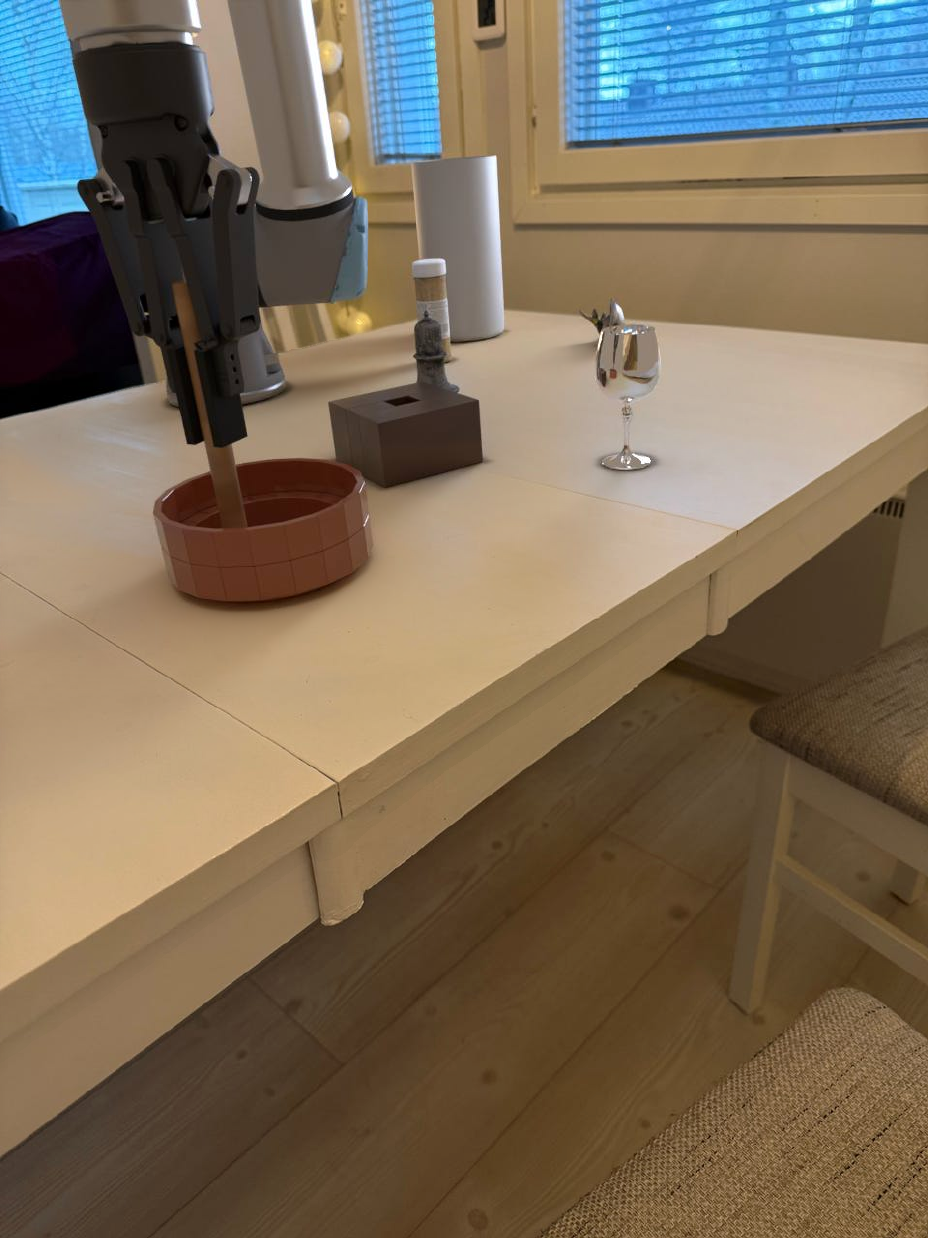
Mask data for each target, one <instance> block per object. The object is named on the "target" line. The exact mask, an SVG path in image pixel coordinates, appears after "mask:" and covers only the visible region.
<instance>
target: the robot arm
mask: <svg viewBox="0 0 928 1238" xmlns="http://www.w3.org/2000/svg"><path fill="white" fill-rule="evenodd" d="M226 1H227V6H228V11H229V16H230V21H231V27H232V32H233V35H234V41H235V44H236V51H237V55H238V61H239V65H240V70H241V75H242V79H243V85H244V89H245V95H246V100H247V105H248V109H249V114H250V115H249V116H250V120H251V124H252V129H253V135H254V140H255V145H256V150H257V155H258V159H259V164H260V170H261V174H262V179H261V176H260V174H259V171H258V170H257V169H256V168H255V167H253V166H247V167H240V166H238V165H236V164H235V163H233V162H232V161H230V160H228V159H226V158H225V157H223V156H222V151H221V147H220V145H219V143H218V141H217V139H216V138H215V136H214V133H213V131H212V128H211V124H210V118H211V117H212V116H213V114H214V113H215V108H216V107H215V100H214V95H213V89H212V83H211V78H210V72H209V67H208V66H209V65H208V60H207V54H206V52H204V51H202V48H201V46H199V45H195V44H194V38H195V37H198V35H199V34H200V33H201V31H202V21H201V18H200V12H199V7H198V3H197V2H198V1H197V0H58V3H59V8H60V12H61V16H62V20H63V24H64V29H65V32H66V37H68V38H69V39H70V40H71V42H74V43H77V44H79V45H80V49H81V50H80V51H77V52H76V53H74V58H73V59H72V60H71V62H72V66H73V70H74V71H73V72H74V75H75V79H76V84H77V89H78V92H79V96H80V101H81V105H82V109H83V113H84V117H85V119H86V120H87V122H88V123H89V124H91V125H93V126H96V127H97V128H98V130H99V132H100V136H101V149H100V160H101V164H102V167H101V168H100V169H99V170H98V171H97V172H96V174H95V175H94V176H93V177H91V178H83V179H79V180H78V181H77V184H76V189H77V193H78V195H79V197H80V198H81V200H82V202H83V204H84V205H85V208H87V210H88V212H89V213H90V215H91V217H92V218H93V220H94V224H95V226H96V229H97V232H98V234H99V238H100V241H101V245H102V247H103V250H104V252H105V256H106V258H107V261H108V264H109V267H110V271H111V273H112V276H113V279H114V282H115V285H116V288H117V291H118V293H119V296H120V297H119V298H120V299H121V302H122V306H123V308H124V312H125V314H126V317H127V321H128V323H129V326H130V329H131V330H132V333H133V334H134V335H135V336H137V337H144V336H145V337H147V338H148V339H151V340H153V342H154V344H155V345H156V346H157V347H159V348H160V352H161V357H162V362H163V366H164V370H165V375H166V381H165V387H166V395H167V399H168V402H169V404H170V405H172V406H175V407H177V408H178V410H179V413H180V419H181V423H182V429H183V432H184V437H185V441H186V444H187V445H192V446H197V445H198V444H201V443H203V442H204V438H203V434H202V429H201V424H200V419H199V415H198V410H197V405H196V400H195V395H194V391H193V386H192V381H191V376H190V372H189V367H188V362H187V357H186V353H185V348H184V343H183V338H182V333H181V329H180V324H179V319H178V314H177V310H176V305H175V300H174V295H173V291H172V286H171V283H172V282H175V281H180V280H186V283H187V287H188V291H189V295H190V298H191V302H192V306H193V310H194V314H195V317H196V321H197V325H198V329H199V332H200V336H201V340H202V341H198V342H195V343H194V345H195V347H196V348H197V350H194V354H195V358H196V363H197V368H198V373H199V378H200V383H201V388H202V392H203V397H204V402H205V407H206V412H207V417H208V422H209V426H210V431H211V436H212V441H213V446H214V447H218V448H223V447H225V446H228V445H230V444H232V445H233V444H234V443H237V442H238V441H241V440H243V439H246V438H248V436H249V435H248V430H247V425H246V420H245V414H244V408H243V405H246V404H251V403H252V404H253V403H256V402H260V401H263V400H267V399H270V398H272V397H275V396H277V395H279V394H281V393H283V391H284V390H286V388H287V383H286V382H287V381H286V377H285V376H286V375H285V373H284V369H283V368H282V365H281V363H280V358H279V352H275V351H274V349H273V346H272V345H271V343H270V341H269V339H268V337H267V335H266V333H265V331H264V328H263V324H262V317H261V311H260V309H262V308H273V307H286V306H300V305H301V306H302V305H317V304H329V305H332V304H333V305H334V303H337V302H344V301H352V300H356V299H359V298H360V297H362V296H363V295H364V293H365V292H366V290H367V283H368V267H369V266H368V264H369V262H368V261H369V212H368V201H367V199H366V198H364V197H360V196H359V195H356V196H354V189H353V183H352V181H351V179H350V178H349V177H347V176H346V175H345V173H343V172H341V171H340V170H339V169H338V167H337V162H336V155H335V149H334V142H333V135H332V130H331V129H332V128H331V122H330V115H329V110H328V109H329V108H328V101H327V96H326V90H325V83H324V75H323V69H322V63H321V62H322V61H321V56H320V49H319V43H318V36H317V30H316V23H315V15H314V9H313V1H312V0H226Z"/></svg>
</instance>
